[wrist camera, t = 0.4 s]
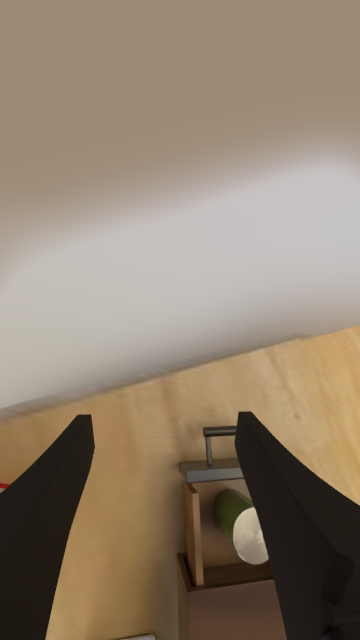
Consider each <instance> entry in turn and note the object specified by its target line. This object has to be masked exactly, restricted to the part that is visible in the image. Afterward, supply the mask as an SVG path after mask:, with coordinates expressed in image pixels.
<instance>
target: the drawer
mask: <svg viewBox="0 0 360 640" xmlns="http://www.w3.org/2000/svg"><path fill="white" fill-rule="evenodd" d="M236 428H237V426H221V427H204V428H203V435H204V437H205V440H206V455H207V461H194V462H180V463H179V472H180V473H181V475H182V476H183V477H184V479H185V480H186V482H184V487H185V512H186V537H187V563H188V575H189V578H190V581H191V585H192V587H198V586H205V585H212V584H219V583H226V582H233V581H239V580H246V579H253V578H260V577H267V576H273V574H272V570H271V566H270V562H269V559H268V560H267V561H266V562H264V563H262V564H256V565H255V564H250V563H248V562H246V561H244V560H243V559H242V558H241V557H240V556H239V555H238V554H237V552H236V551H235V550H234V548H233V547H232V545H231V544H230V542H229V541H228V540H227V538H226V537H225V535H224V534H223V533H222V531H221V530H220V528H219V527H218V526H217V524H216V522H215V520H214V516H213V503H214V500H215V498H216V497H217V495H218V494H219V493H220V492H221V491H223V490H225V489H235V490H237V491H239V492H241V493H242V494H243V495H245V496H246V497H247V498H249V499H250V500H251V501H252V499H251V497H250V494H249V491H248V488H247V485H246V482H245V480H244V477H243V474H242V471H241V468H240V465H239V461H238V458H236V459H222V460H212V452H211V438H210V437H212V436H230V435H236Z"/></svg>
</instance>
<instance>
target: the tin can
mask: <svg viewBox="0 0 360 640" xmlns="http://www.w3.org/2000/svg"><path fill="white" fill-rule="evenodd" d="M213 516H214V520H215V522H216V524H217V526H218V527H219V528H220V530H221V531H222V533H223V534H224V535H225V537H226V538H227V540H228V541H229V542H230V544H231V545H232V547H233V548H234V550H235V551H236V552H237V554H238V555H239V556H240V557H241V558H242V559H243V560H244V561H246V562H248V563H250V564H255V565H256V564H262V563H264V562H266V561H267V560H268V559H269V558H268V554H267V550H266V546H265V542H264V538H263V534H262V531H261V527H260V523H259V520H258V517H257V514H256V511H255V508H254V505H253V502H252V501H251V500H250V499H249V498H247V497H246V496H245V495H243V494H242V493H241V492H239V491H237V490H235V489H225V490H223V491H221V492H220V493H219V494H218V495H217V497H216V498H215V500H214V503H213Z"/></svg>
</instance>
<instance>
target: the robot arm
mask: <svg viewBox="0 0 360 640" xmlns="http://www.w3.org/2000/svg"><path fill="white" fill-rule="evenodd" d="M234 444H235V448H236V453H237V457H238V461H239V465H240V468H241V471H242V474H243V477H244V480H245V482H246V485H247V488H248V491H249V494H250V497H251V499H252V502H253V505H254V508H255V511H256V514H257V517H258V520H259V523H260V527H261V531H262V534H263V538H264V542H265V546H266V550H267V554H268V558H269V562H270V566H271V570H272V574H273V579H274V583H275V587H276V592H277V596H278V601H279V605H280V609H281V614H282V619H283V623H284V628H285V633H286V638H287V640H360V506H359V505H358V504H356V503H355V502H353V501H352V500H350V499H349V498H347V497H346V496H344V495H343V494H341V493H340V492H339V491H337V490H336V489H334V488H333V487H331V486H330V485H329V484H327V483H326V482H325V481H323V480H322V479H321V478H319V477H318V476H317V475H316V474H315V473H313V472H312V471H311V470H310V469H308V468H307V467H306V466H305V465H304V464H302V463H301V462H300V461H299V460H298V459H297V458H296V457H295V456H294V455H292V454H291V453H290V452H289V451H288V450H287V449H286V448H285V447H284V446H283V445H282V444H281V443H280V442H279V441H278V440H277V439H276V438H275V437H274V436H273V435H272V434H271V433H270V432H269V431H268V429H267V428H266V427H265V426H264V425H263V424H262V423H261V422H260V421H259V420H258V419H257V418H256V416H255V415H254V414H253V413H252V412H239V414H238V421H237V428H236V435H235V443H234ZM94 449H95V444H94V435H93V426H92V418H91V414H90V415H77V416H76V417H75V418H74V420H73V421H72V422H71V423H70V424H69V425H68V427H67V428H66V429H65V430H64V431H63V432H62V434H61V435H60V436H59V437H58V438H57V439H56V440H55V441H54V442H53V444H52V445H51V446H50V447H49V448H48V449H47V450H46V451H45V452H44V453H43V454H42V455H41V456H40V457H39V458H38V459H37V460H36V461H35V462H34V463H33V464H32V465H31V466H30V467H29V468H28V469H27V470H26V471H25V472H24V473H23V474H22V475H21V476H20V477H18V478H17V479H16V480H15V481H14V482H13V483H12V484H10V485H9V486H8V487H7V488H6V489H5V490H3V491H2V492H1V493H0V640H45V638H46V633H47V628H48V624H49V619H50V614H51V610H52V605H53V600H54V596H55V591H56V587H57V582H58V578H59V574H60V569H61V565H62V561H63V557H64V553H65V548H66V544H67V540H68V536H69V532H70V529H71V526H72V522H73V519H74V516H75V513H76V510H77V507H78V504H79V501H80V498H81V495H82V492H83V489H84V486H85V483H86V480H87V477H88V474H89V471H90V467H91V463H92V458H93V454H94ZM121 640H156V637H155V635H153V634H151V635H145V636H139V637H133V638H127V639H121Z"/></svg>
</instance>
